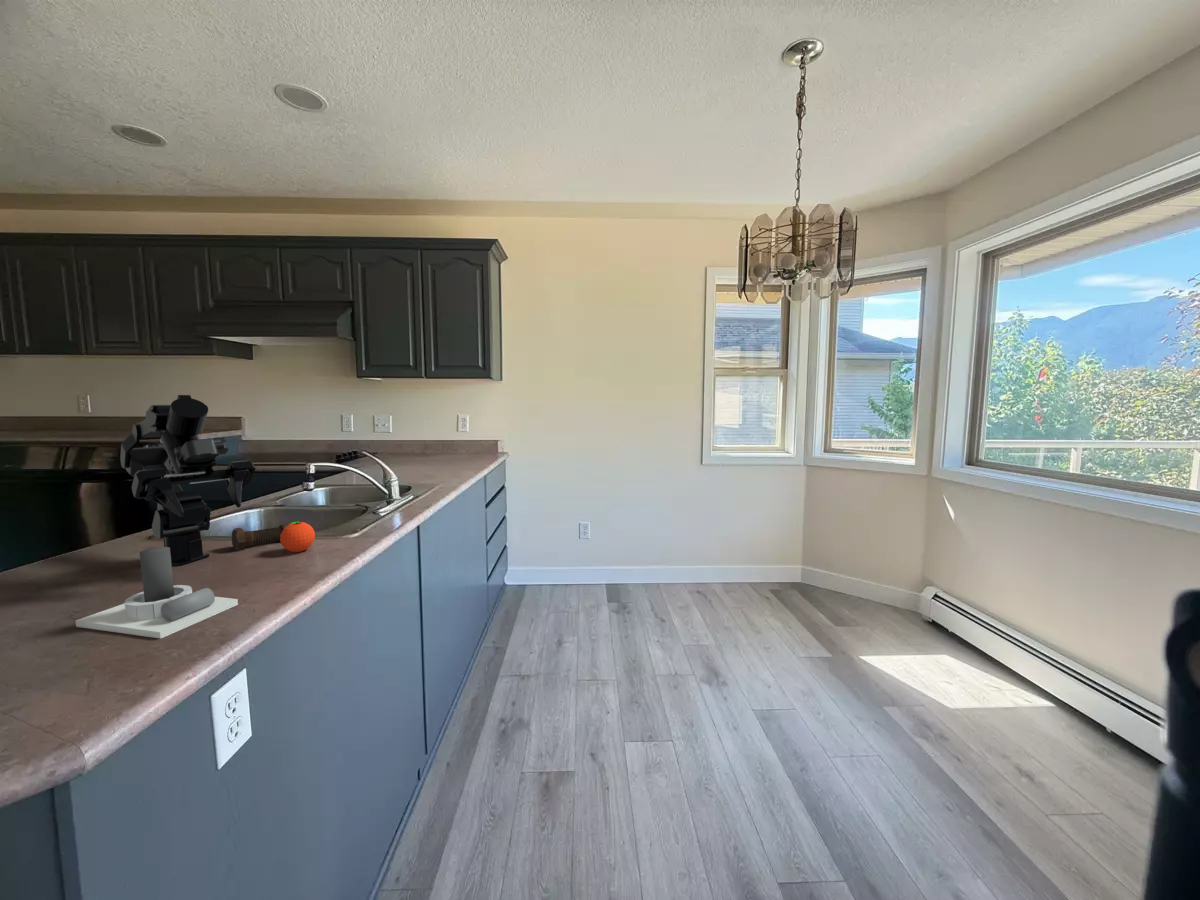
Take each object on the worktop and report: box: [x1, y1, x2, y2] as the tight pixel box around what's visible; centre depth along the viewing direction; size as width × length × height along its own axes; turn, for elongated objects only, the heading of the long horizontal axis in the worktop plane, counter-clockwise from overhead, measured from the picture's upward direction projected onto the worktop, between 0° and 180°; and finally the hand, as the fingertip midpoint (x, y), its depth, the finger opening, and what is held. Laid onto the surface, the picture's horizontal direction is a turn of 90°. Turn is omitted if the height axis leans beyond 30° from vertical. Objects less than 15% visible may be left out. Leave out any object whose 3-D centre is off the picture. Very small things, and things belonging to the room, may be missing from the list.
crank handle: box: [139, 546, 175, 602], centre depth 77 cm, size 4×4×10 cm
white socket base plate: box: [75, 584, 239, 640], centre depth 78 cm, size 17×12×4 cm
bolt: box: [231, 522, 290, 552], centre depth 117 cm, size 6×5×15 cm
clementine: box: [279, 521, 316, 553], centre depth 111 cm, size 8×7×7 cm
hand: (212, 510), depth 93 cm, fingers open, 9 cm apart
